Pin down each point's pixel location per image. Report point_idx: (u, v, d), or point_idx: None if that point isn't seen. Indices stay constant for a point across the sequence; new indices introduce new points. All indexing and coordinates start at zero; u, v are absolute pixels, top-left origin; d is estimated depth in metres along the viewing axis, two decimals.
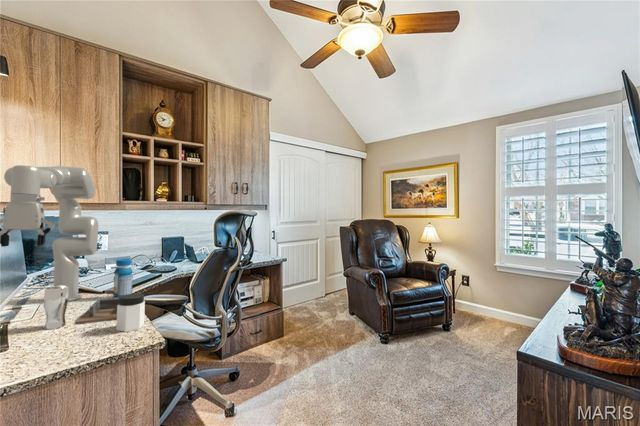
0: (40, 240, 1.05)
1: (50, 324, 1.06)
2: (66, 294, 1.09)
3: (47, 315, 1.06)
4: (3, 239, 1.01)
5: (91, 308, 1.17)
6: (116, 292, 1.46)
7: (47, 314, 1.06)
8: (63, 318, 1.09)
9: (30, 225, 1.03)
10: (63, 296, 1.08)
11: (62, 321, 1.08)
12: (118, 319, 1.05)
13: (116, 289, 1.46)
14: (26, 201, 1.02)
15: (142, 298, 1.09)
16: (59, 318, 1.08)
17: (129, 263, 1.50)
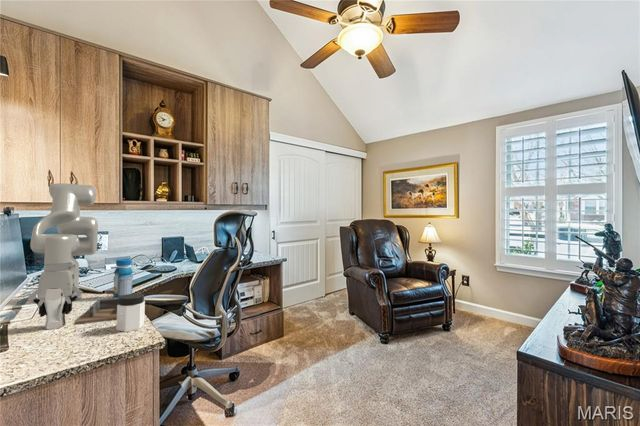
0: (67, 308, 1.09)
1: (50, 324, 1.06)
2: None
3: (47, 315, 1.06)
4: (42, 310, 1.06)
5: (91, 308, 1.17)
6: (116, 292, 1.46)
7: (47, 314, 1.06)
8: (63, 318, 1.09)
9: None
10: (63, 296, 1.08)
11: (62, 321, 1.08)
12: (118, 319, 1.05)
13: (116, 289, 1.46)
14: (59, 271, 1.07)
15: (142, 298, 1.09)
16: (59, 318, 1.08)
17: (129, 263, 1.50)
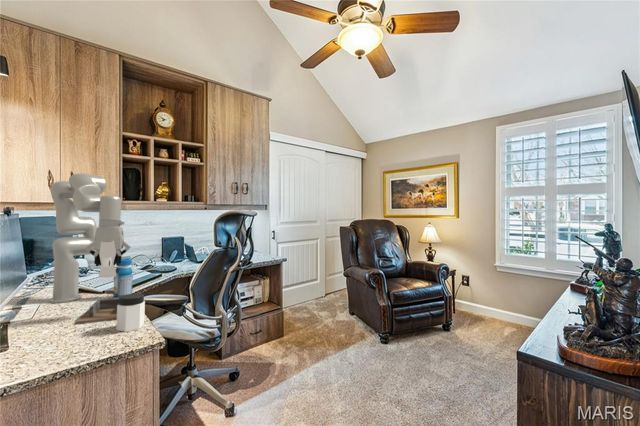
0: (118, 260, 1.23)
1: (104, 273, 1.20)
2: None
3: (101, 265, 1.20)
4: (97, 260, 1.20)
5: (91, 308, 1.17)
6: (116, 292, 1.46)
7: (101, 264, 1.20)
8: (114, 269, 1.23)
9: None
10: (114, 249, 1.22)
11: (113, 271, 1.23)
12: (118, 319, 1.05)
13: (116, 289, 1.46)
14: (112, 226, 1.21)
15: (142, 298, 1.09)
16: (111, 268, 1.22)
17: (129, 263, 1.50)
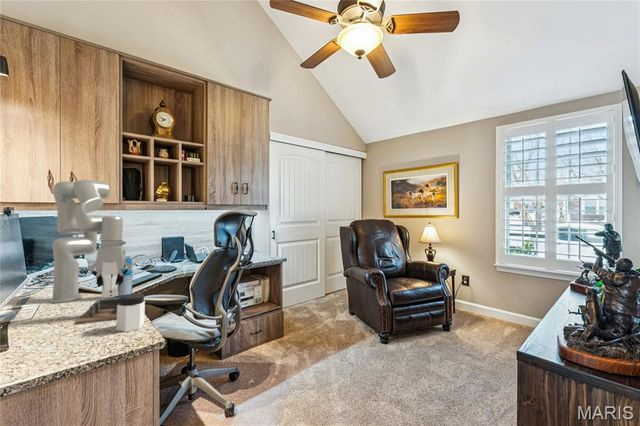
0: (120, 280, 1.24)
1: (106, 293, 1.20)
2: None
3: (104, 285, 1.21)
4: (99, 280, 1.20)
5: (91, 308, 1.17)
6: None
7: (104, 284, 1.20)
8: (116, 288, 1.24)
9: None
10: (117, 269, 1.23)
11: (116, 291, 1.23)
12: (118, 319, 1.05)
13: None
14: (114, 246, 1.21)
15: (142, 298, 1.09)
16: (113, 288, 1.22)
17: (129, 263, 1.50)
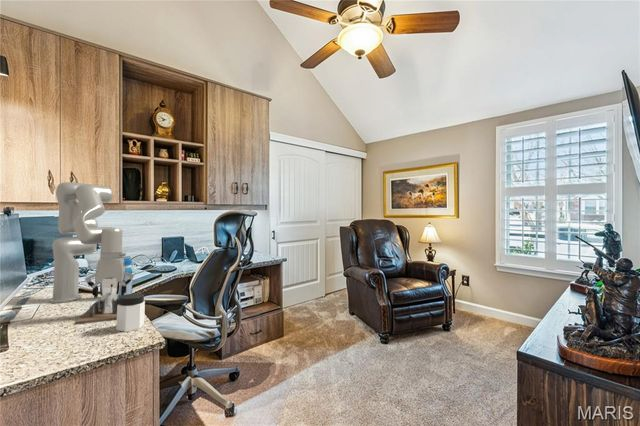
0: (123, 290, 1.24)
1: (106, 309, 1.20)
2: (118, 283, 1.24)
3: (103, 301, 1.21)
4: (95, 291, 1.20)
5: (91, 308, 1.17)
6: None
7: (103, 301, 1.20)
8: (116, 304, 1.24)
9: (116, 279, 1.22)
10: (116, 285, 1.23)
11: (115, 307, 1.23)
12: (118, 319, 1.05)
13: None
14: (113, 259, 1.21)
15: (142, 298, 1.09)
16: (113, 305, 1.22)
17: (129, 263, 1.50)
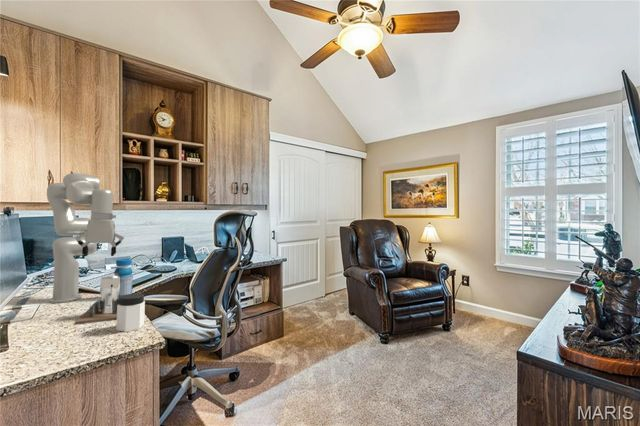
0: (113, 251, 1.27)
1: (106, 309, 1.20)
2: (118, 283, 1.24)
3: (103, 301, 1.21)
4: (85, 250, 1.22)
5: (91, 308, 1.17)
6: None
7: (103, 301, 1.21)
8: (116, 304, 1.24)
9: (106, 239, 1.25)
10: (116, 285, 1.23)
11: (115, 307, 1.23)
12: (118, 319, 1.05)
13: None
14: (103, 219, 1.23)
15: (142, 298, 1.09)
16: (113, 305, 1.22)
17: (129, 263, 1.50)
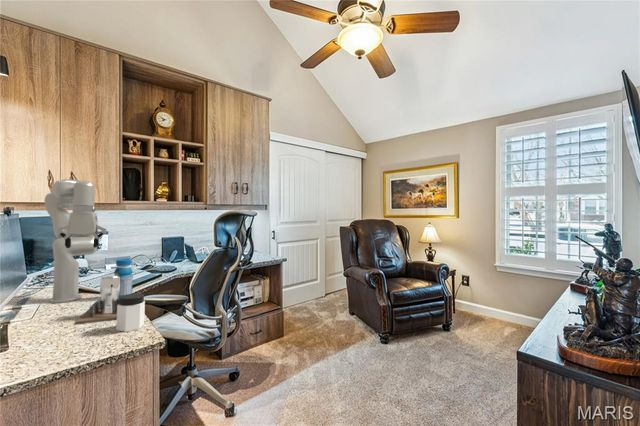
0: (95, 243, 1.29)
1: (106, 309, 1.20)
2: (118, 283, 1.24)
3: (103, 301, 1.21)
4: (67, 242, 1.25)
5: (91, 308, 1.17)
6: None
7: (103, 301, 1.21)
8: (116, 304, 1.24)
9: (88, 231, 1.27)
10: (116, 285, 1.23)
11: (115, 307, 1.23)
12: (118, 319, 1.05)
13: None
14: (85, 211, 1.26)
15: (142, 298, 1.09)
16: (113, 305, 1.22)
17: (129, 263, 1.50)
